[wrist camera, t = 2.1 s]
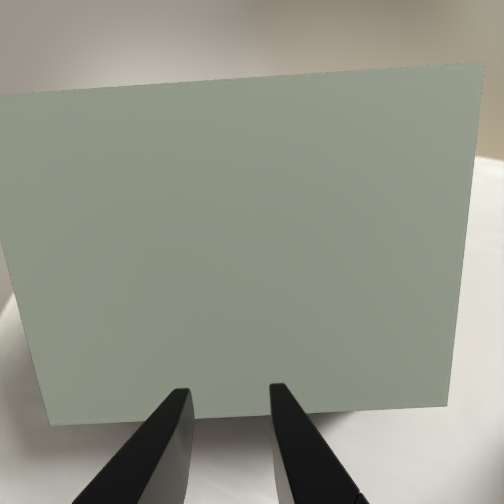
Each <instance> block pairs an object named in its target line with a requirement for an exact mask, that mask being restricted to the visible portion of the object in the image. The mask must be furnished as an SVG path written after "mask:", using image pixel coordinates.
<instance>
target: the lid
mask: <svg viewBox="0 0 504 504" xmlns="http://www.w3.org/2000/svg"><path fill="white" fill-rule="evenodd" d="M484 68H485V62H473V63H472V62H471V63H457V64H442V65H430V66H429V65H427V66H414V67H398V68H384V69H369V70H355V71H339V72H325V73H311V74H296V75H281V76H267V77H251V78H237V79H222V80H209V81H208V80H207V81H193V82H179V83H164V84H150V85H134V86H119V87H105V88H90V89H75V90H61V91H47V92H31V93H17V94H3V95H0V241H1V245H2V249H3V253H4V256H5V260H6V264H7V268H8V271H9V275H10V278H11V282H12V286H13V290H14V294H15V297H16V301H17V305H18V309H19V312H20V316H21V320H22V324H23V327H24V331H25V335H26V338H27V342H28V346H29V350H30V353H31V357H32V361H33V365H34V368H35V372H36V376H37V379H38V383H39V387H40V391H41V394H42V398H43V402H44V406H45V409H46V413H47V417H48V421H49V424H50V426H59V425H79V424H99V423H120V422H140V421H146V419H147V418H148V417H149V416H150V415H151V414H152V413H153V412H154V411H155V409H156V408H157V407H158V406H159V405H160V404H161V403H162V402H163V401H164V399H165V398H166V397H167V396H168V395H169V394H170V393H171V392H172V391H173V390H174V389H176V388H189V389H190V390H191V394H192V400H193V407H194V416H195V418H194V419H201V418H221V417H242V416H262V415H271V414H270V396H269V385H270V384H271V383H285V384H286V386H287V387H288V388H289V390H290V391H291V393H292V394H293V396H294V397H295V398H296V400H297V401H298V403H299V404H300V406H301V407H302V408H303V410H304V411H305V413H323V412H343V411H363V410H384V409H404V408H424V407H445V406H447V402H448V393H449V384H450V375H451V366H452V357H453V348H454V339H455V330H456V321H457V312H458V303H459V294H460V285H461V276H462V267H463V258H464V249H465V240H466V231H467V222H468V213H469V204H470V195H471V186H472V177H473V168H474V159H475V149H476V140H477V130H478V122H479V113H480V104H481V95H482V86H483V77H484Z"/></svg>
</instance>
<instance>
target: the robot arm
mask: <svg viewBox="0 0 504 504" xmlns="http://www.w3.org/2000/svg"><path fill="white" fill-rule="evenodd" d="M269 396H270V414H271V429H272V444H273V460H274V473H275V482H276V488H277V494H278V500H279V504H369V502H368V501H367V499H366V498H365V497H364V495H363V494H362V493H360V490H359V488H358V487H357V485H356V484H355V483H354V481H353V480H352V478H351V477H350V475H349V474H348V473H347V471H346V470H345V468H344V467H343V465H342V464H341V463H340V461H339V460H338V458H337V457H336V455H335V454H334V453H333V451H332V450H331V448H330V447H329V445H328V444H327V443H326V441H325V440H324V438H323V437H322V435H321V434H320V433H319V431H318V430H317V428H316V427H315V426H314V424H313V423H312V421H311V420H310V418H309V417H308V416H307V414H306V413H305V411H304V410H303V408H302V407H301V406H300V404H299V403H298V401H297V400H296V398H295V397H294V396H293V394H292V393H291V391H290V390H289V388H288V387H287V386H286V384H285V383H271V384H270V385H269ZM194 418H195V416H194V407H193V400H192V394H191V390H190V389H189V388H176V389H174V390H173V391H172V392H171V393H170V394H169V395H168V396H167V397H166V398H165V399H164V401H163V402H162V403H161V404H160V405H159V406H158V407H157V408H156V409H155V411H154V412H153V413H152V414H151V415H150V416H149V417H148V418H147V419H146V421H145V422H144V423H143V424H142V425H141V426H140V427H139V428H138V430H137V431H136V432H135V433H134V434H133V435H132V436H131V437H130V438H129V440H128V441H127V442H126V443H125V444H124V445H123V446H122V447H121V449H120V450H119V451H118V452H117V453H116V454H115V455H114V456H113V457H112V459H111V460H110V461H109V462H108V463H107V464H106V465H105V466H104V467H103V469H102V470H101V471H100V472H99V473H98V474H97V475H96V476H95V478H94V479H93V480H92V481H91V482H90V483H89V484H88V485H87V486H86V488H85V489H84V490H83V491H82V492H81V493H80V494H79V495H78V497H77V498H76V499H75V500H74V501H73V502H72V504H184V499H185V495H186V489H187V484H188V476H189V468H190V458H191V449H192V439H193V429H194Z"/></svg>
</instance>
